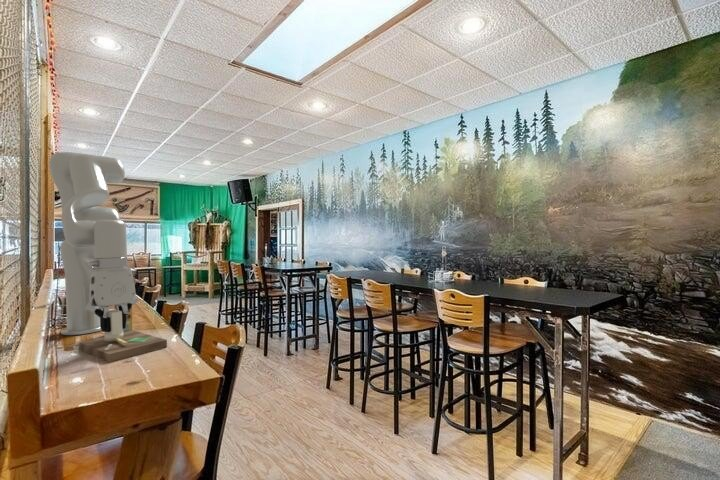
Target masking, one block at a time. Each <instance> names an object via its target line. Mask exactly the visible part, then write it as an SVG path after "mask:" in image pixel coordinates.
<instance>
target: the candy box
mask: <svg viewBox="0 0 720 480" xmlns="http://www.w3.org/2000/svg"><path fill="white" fill-rule="evenodd" d="M113 309H116V310H118V308H117V305H114V308H113ZM129 331H133V306H132V307H131V308H130V309H129V310H128V313H127V314H126V328H124V329H123V333H125V332H129Z"/></svg>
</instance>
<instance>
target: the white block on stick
mask: <svg viewBox="0 0 720 480" xmlns="http://www.w3.org/2000/svg"><path fill="white" fill-rule="evenodd" d="M108 317H110V321H111V331H110V332H103V333H104V334H103V337H104V340H105V341H106V342H111V341H117V342H119V343H121V344H123V345H126V344H127V342H126V341H124V340H122V339H123V329H122V311H119V310H116V309H114V308H112V309H111V308H109V312H108Z"/></svg>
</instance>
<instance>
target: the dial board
mask: <svg viewBox="0 0 720 480" xmlns="http://www.w3.org/2000/svg"><path fill="white" fill-rule="evenodd" d="M122 340H124V341H126V342H127V344H126V345H123V344H121V343H119V342H117V341H111V342H106V341H105V340H104V336H101V337H97V338H92V339H88V340H82V341H79V342H78V343H79V344H78V348H79V350H80V351H82V352H85V353H86V354H89V355H91V356H94V357H96V358H99V359H100V360H103V361H105V362H108V363H113V362H115V361H119V360H123V359H127V358H130V357H135V356H137V355H143V354H146V353H149V352H153V351H156V350H160V349H165V348H167V347H168V343H167V342H168V341H167V339H165V338H162V337H158V336H155V335H151V334H147V333H144V332H141V331H137V330H132V331H129V332H125V333H123V339H122ZM164 347H165V348H164Z"/></svg>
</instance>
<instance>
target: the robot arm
mask: <svg viewBox="0 0 720 480" xmlns="http://www.w3.org/2000/svg"><path fill="white" fill-rule="evenodd" d="M49 171H50V175H51V178H52V180H53V183H54V185H55V186H56V188H57V190H58V193H59V196H60V203H61V204H60V205H61V225H62V226H61V227H62V231H63V236H64V240H63V241H62V242H61V244H60V256H61V260H62V265H63V271H64V281H65V282H64V283H65V304H66V305H65V306H66V308H65V309H66V327H65V328H62V329H61V330H60V334H61V335H63V336H79V335H86V334H92V333H96V332H103V333H106V332H110V331H111V321H110V317H108V312H109V310H110V307H113V306H114V305H117V308H118V310H119V311H122V329H124V328H126V314H127V313H128V310H129V309H130V308H131V307H132V308H133V306H134V305H136V303H138V302H139V301H138V298H137V295H136V286H135V280H134V275H133V272H132V267H128V248H127V247H128V246H127V245H128V244H127V224H126V223H125V222H124V221H123V220H121V217H120V214H119V211H117V210H116V209H115V208H113V207H110V206H109V207H108V206H100V205H103V204H105V203H106V202H108V200H109V198H110V191H109V188H108V184H121V183H122V182H123V181H124V179H125V175H126V173H125V167H124V165H123V163H122V161H121V160H120V159H118V158H115V157H109V156H104V155H96V154H86V153H81V152H69V151H63V152H62V151H60V152H55V153H53V154H52V155H51V156H50V158H49Z"/></svg>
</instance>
